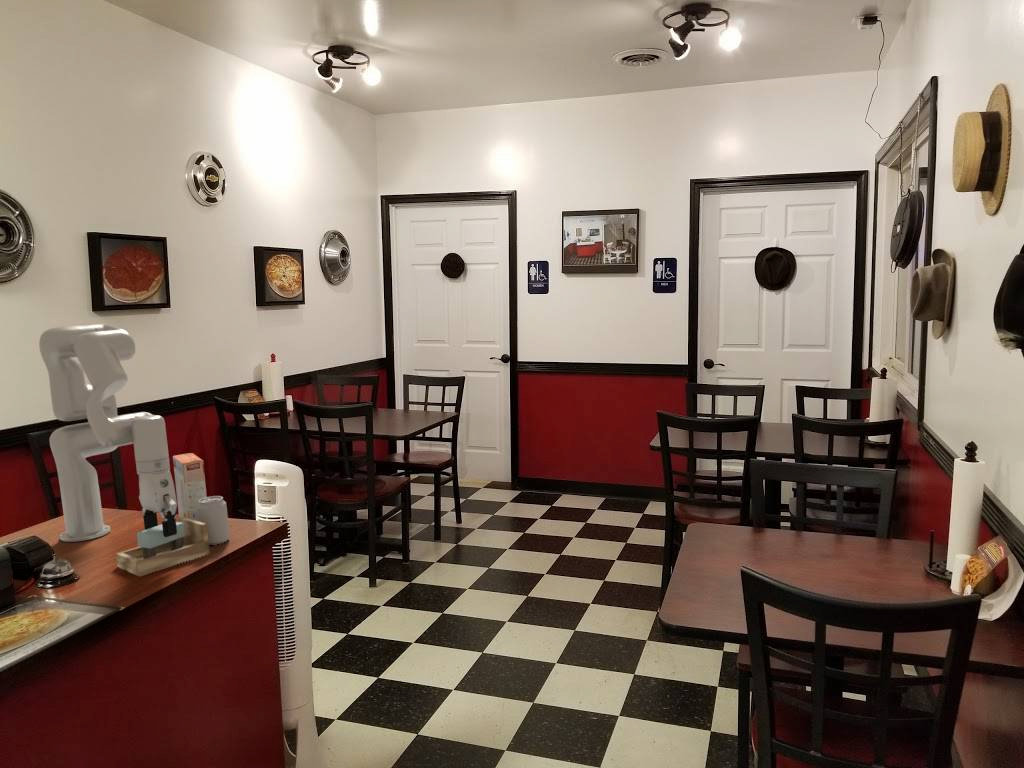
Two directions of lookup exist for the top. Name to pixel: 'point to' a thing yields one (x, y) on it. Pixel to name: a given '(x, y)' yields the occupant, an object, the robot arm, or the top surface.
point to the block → (158, 536)
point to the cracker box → (189, 483)
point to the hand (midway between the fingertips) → (160, 532)
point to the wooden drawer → (167, 551)
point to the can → (214, 518)
